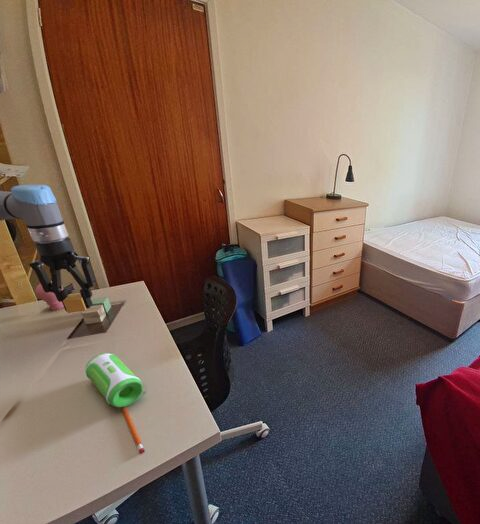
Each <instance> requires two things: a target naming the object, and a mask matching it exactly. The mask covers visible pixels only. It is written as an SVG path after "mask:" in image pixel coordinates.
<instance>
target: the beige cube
mask: <svg viewBox="0 0 480 524" xmlns="http://www.w3.org/2000/svg"><path fill="white" fill-rule="evenodd" d="M81 316H82V319H84V321H85V324H91V323H98V322H102V321H103V319H104V318H105V316H106V313H105V311H104V308H103V305H97V306H91V307H90V308H87V310H86V311H81Z"/></svg>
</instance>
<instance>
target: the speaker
mask: <svg viewBox="0 0 480 524" xmlns="http://www.w3.org/2000/svg"><path fill="white" fill-rule="evenodd" d="M85 375H86V377H87V378H88V379H89V380H90V381H91V382H92V384H93V385H94V386H95V387H96V388H97V390H98V391H99V392H100V394H101V395H102V396H103V398H104V399H105V401H106V403H107V404H108V405H110V406H112V407H115V408H120V407H128V406H130V405H132V404H133V403H135V402H136V401H137V400H138V399H139V398H140V397H141V396H142V393H143V389H144V385H143V383H142V380H141V379H140V377H138V376H136V374H134V372H133V371H132V370H130V368H129V367H127V366H126V364H125V363H124V362H123V361H122V360H121V358H120V357H119V356H117V354H116V355H115V354H113V353H109V352H106V353H105V352H104V353H100V354H96V355H95V356H92V358H90V359H89V361H88V362H87V363H86V365H85Z"/></svg>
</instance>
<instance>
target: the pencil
mask: <svg viewBox="0 0 480 524" xmlns="http://www.w3.org/2000/svg"><path fill="white" fill-rule="evenodd" d="M119 408H120V410H121V412H122V414H123V415H122V416H123V417H124V420H125V422H126V424H127V426H128V429H129V431H130V434H131V436H132V439H133V441H134V443H135V446H136V448H137V451H138V453H139V454H140V455H143V453H145V448H144V446H143V444H142V441H141V439H140V437H139V434H138V432H137V430H136V428H135V426H134V423H133V421H132V419H131V416H130V414H129V411H128V409H127V406H125V407H119Z"/></svg>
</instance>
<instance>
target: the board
mask: <svg viewBox="0 0 480 524" xmlns="http://www.w3.org/2000/svg"><path fill="white" fill-rule="evenodd" d="M124 304H125V303H124V302H123V303H116V304H110V305H111V308H110V309H109V311H108V312H107V313H106V316H105V318H104V319H103V321H102V322H98V323H91V324H85V321H84V319H83V318H82V319H81V320H80V321H79V322H78V324H77V325H76V326H75V327H74V328H73V330H72V331H71V333H70V334H69V335H68V336H67V337H66V340H71V339H76V338H77V339H78V338H84V337H88V336H89V337H90V336H95V335H100V334H101V335H102V334H107V333H108V331H109V329H110V327H111V326H112V324H113V323H114V321H115V320H116V318H117V316H118V314H119V313H120V312H121V310H122V308H123V307H124Z"/></svg>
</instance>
